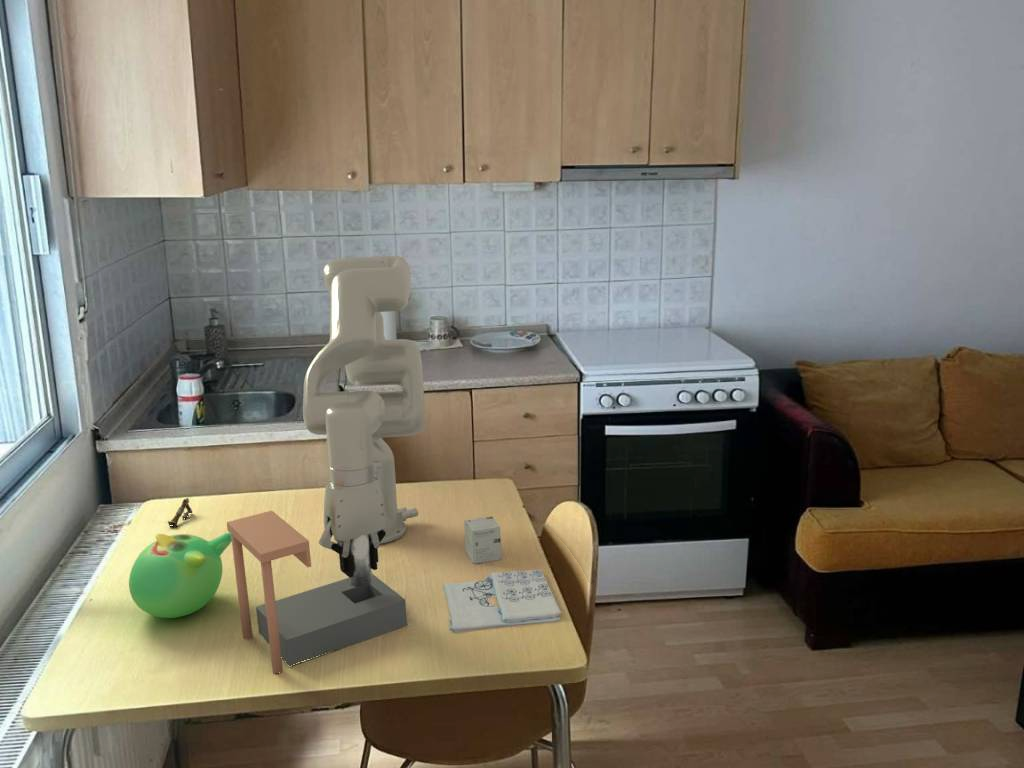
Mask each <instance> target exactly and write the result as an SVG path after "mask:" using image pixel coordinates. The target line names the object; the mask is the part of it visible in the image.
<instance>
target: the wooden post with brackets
mask: <svg viewBox="0 0 1024 768" xmlns="http://www.w3.org/2000/svg"><path fill="white" fill-rule="evenodd" d="M189 504H190V499H189V497H186V498H184V499H183V500H182V502H181V506H180V507H178V509H177V511H176V514H175V516H174V517H173V518H172V519H170V520H168V521H167V523H168V526H169V527H170V525H173V526H178V522H179V519H180V518H182V520H183V519H184V518H186V517H187V516H188V517H190V514H189V513H192V514H193V509H192V508H191V506H190V505H189ZM185 510H186V512H185ZM188 517H187V518H188Z"/></svg>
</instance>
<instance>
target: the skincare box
mask: <svg viewBox="0 0 1024 768" xmlns="http://www.w3.org/2000/svg"><path fill="white" fill-rule="evenodd" d="M463 525H464V541H465V542H464V544H465V545H464V548H465V552H464V553H465V554H466V555H467V557H468V558H469V560H470V561H471V563H472V564H474V565H475V564H481V563H487V562H493V561H500V560H501V559H502V548H501V547H502V543H501V526H500V524H499V523H498V522H497V520H496V519H495V518H494V517H493V516H484V517H475V518H471V519H464V523H463Z"/></svg>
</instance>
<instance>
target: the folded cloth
mask: <svg viewBox="0 0 1024 768" xmlns="http://www.w3.org/2000/svg"><path fill="white" fill-rule="evenodd" d="M442 587H443V589H444V593H445V596H446V601H447V605H448V606H447V607H448V612H449V615H450V620H449V628H448V629H449V631H450V630H451V631H452V633H458V632H467V631H474V630H481V629H493V628H494V629H495V628H502V627H503V628H504V627H513V626H525V625H533V624H543V623H544V624H547V623H556V622H561V618H560V615H562V611H561V609H560V608H559V605H558V603H557V601H556V599H555V596H554V594H553V592H552V589H551V588H550V586H549V584H548V581H547V579H546V577H545V575H544V573H543V571H542V569H528V570H517V571H516V570H514V571H500V572H490V576H487V577H486V578H485V579H484V580H475V581H467V582H466V581H465V582H459V583H458V582H457V583H456V582H448V583H444V584H443V586H442ZM491 597H496V600H497V602H498V606H499V607H498V606H496V605H493V604H491V603H490V602H488V601H489V600H490V599H491Z"/></svg>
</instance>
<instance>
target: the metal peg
mask: <svg viewBox="0 0 1024 768" xmlns="http://www.w3.org/2000/svg"><path fill="white" fill-rule="evenodd" d="M349 555H350V556H352V562H353V574H354V576H353V577H351V578H349V577H348V578H349V582H350V585H351V586H354V587H364V586H367V585H369V584H371V583H372V574H373V572H372V570H373V569H371V557H370V544H369V535H361V536H360V537H357V538H355V539H351V540H350V547H349Z"/></svg>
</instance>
